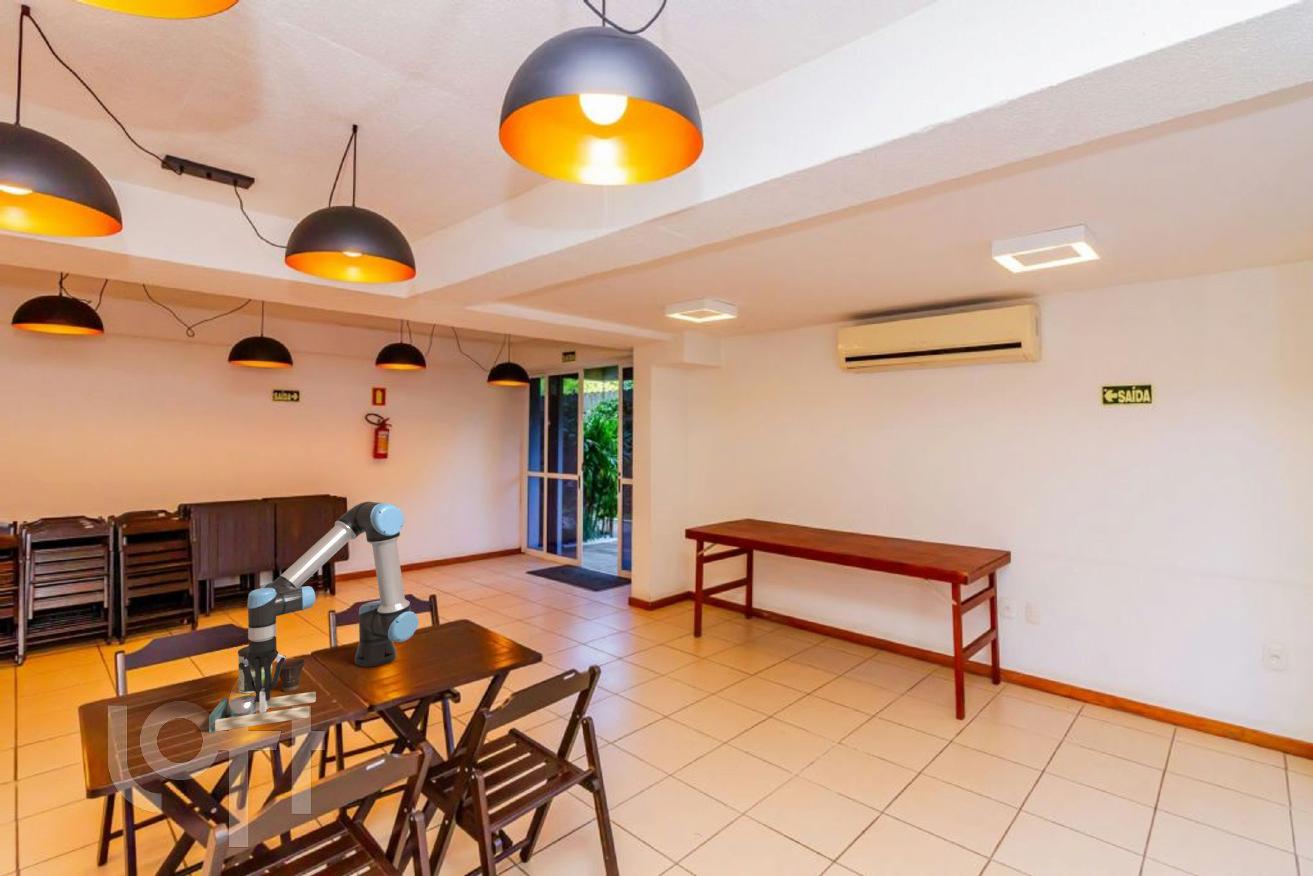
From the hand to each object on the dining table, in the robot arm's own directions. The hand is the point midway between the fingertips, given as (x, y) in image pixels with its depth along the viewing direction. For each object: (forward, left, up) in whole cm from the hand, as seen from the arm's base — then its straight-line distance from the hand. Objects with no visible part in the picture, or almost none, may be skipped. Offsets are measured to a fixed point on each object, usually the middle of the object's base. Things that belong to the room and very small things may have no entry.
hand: (263, 710), depth 193 cm
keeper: (+6, 0, -2) cm, 6 cm away
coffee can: (+8, -26, -2) cm, 27 cm away
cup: (-4, -20, -2) cm, 20 cm away
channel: (-1, 0, -2) cm, 2 cm away
